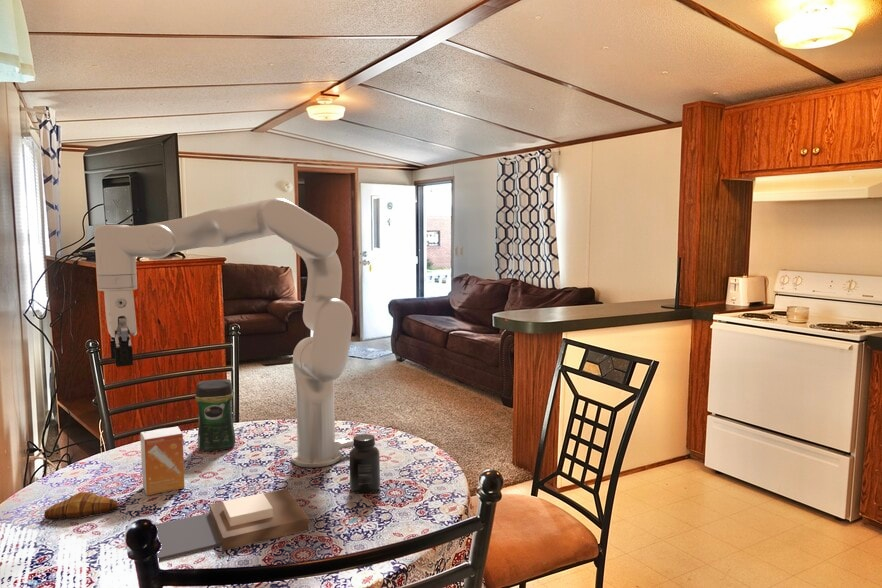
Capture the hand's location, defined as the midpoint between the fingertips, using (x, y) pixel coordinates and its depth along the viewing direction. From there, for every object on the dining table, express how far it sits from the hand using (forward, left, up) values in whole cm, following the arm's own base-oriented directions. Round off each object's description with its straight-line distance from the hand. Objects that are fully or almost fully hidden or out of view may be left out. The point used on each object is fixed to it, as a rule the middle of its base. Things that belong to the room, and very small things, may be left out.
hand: (121, 361), depth 131 cm
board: (-22, +26, -30) cm, 46 cm away
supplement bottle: (-47, +21, -31) cm, 60 cm away
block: (-20, +26, -28) cm, 43 cm away
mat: (-9, +25, -30) cm, 41 cm away
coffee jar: (-22, -24, -31) cm, 45 cm away
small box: (-7, -2, -31) cm, 31 cm away
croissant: (+9, +4, -31) cm, 32 cm away
